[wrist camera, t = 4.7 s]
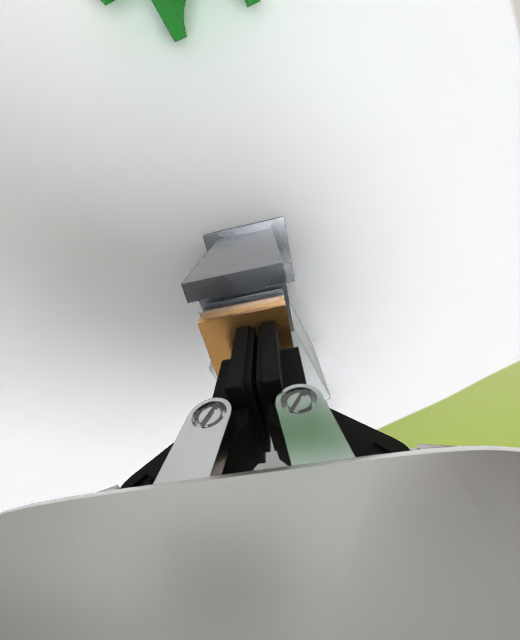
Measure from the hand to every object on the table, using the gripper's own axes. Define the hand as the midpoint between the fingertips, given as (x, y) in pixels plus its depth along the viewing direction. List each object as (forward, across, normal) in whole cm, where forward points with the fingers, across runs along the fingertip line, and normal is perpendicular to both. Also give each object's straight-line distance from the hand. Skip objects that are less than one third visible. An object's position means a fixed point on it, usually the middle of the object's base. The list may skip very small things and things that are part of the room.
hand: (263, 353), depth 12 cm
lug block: (+11, +1, -2) cm, 11 cm away
